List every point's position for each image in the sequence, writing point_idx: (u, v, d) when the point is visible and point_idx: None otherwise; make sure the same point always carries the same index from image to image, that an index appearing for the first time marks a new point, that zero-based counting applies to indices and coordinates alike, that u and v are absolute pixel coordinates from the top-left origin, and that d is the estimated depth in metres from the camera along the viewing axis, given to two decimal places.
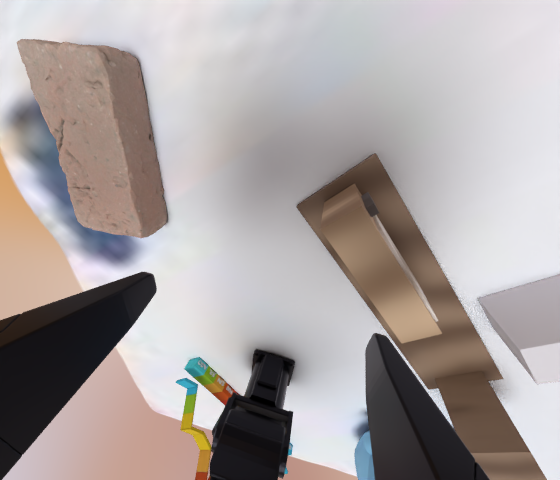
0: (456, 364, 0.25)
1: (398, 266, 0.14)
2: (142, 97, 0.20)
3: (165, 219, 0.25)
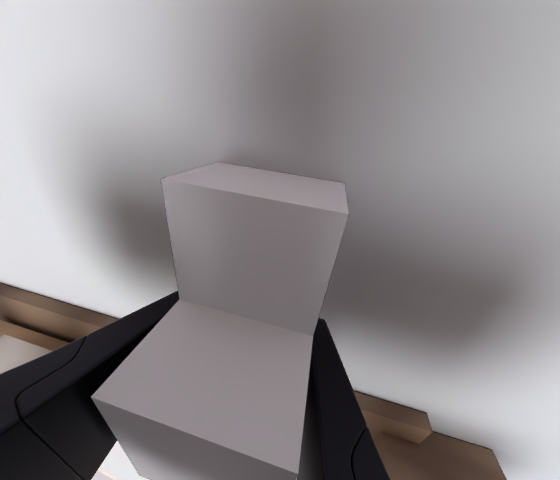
0: None
1: None
2: None
3: None
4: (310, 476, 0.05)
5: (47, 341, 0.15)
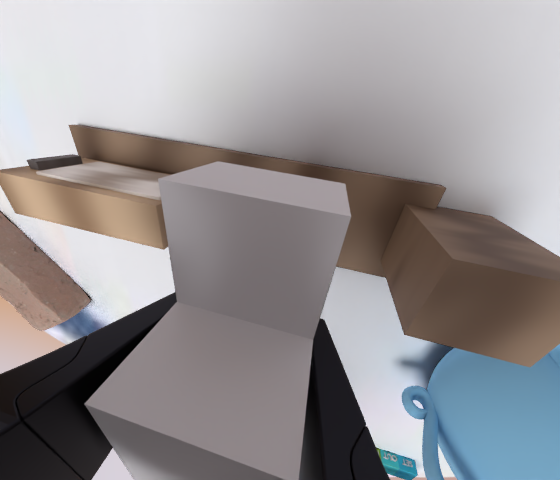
0: (370, 223, 0.16)
1: (57, 185, 0.13)
2: (12, 228, 0.27)
3: (85, 297, 0.31)
4: (309, 475, 0.05)
5: (132, 168, 0.18)
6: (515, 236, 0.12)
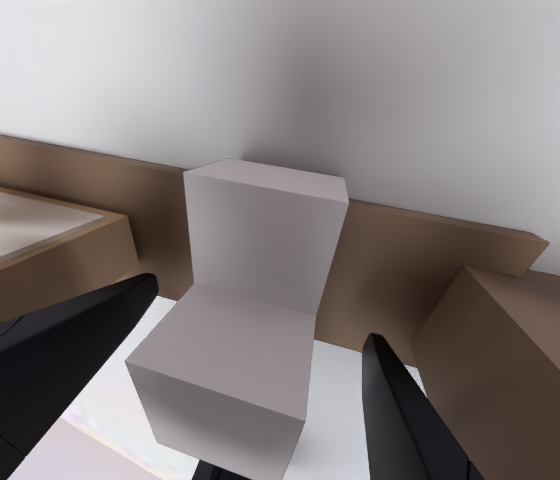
0: (395, 290, 0.10)
1: None
2: None
3: None
4: None
5: (8, 192, 0.11)
6: None
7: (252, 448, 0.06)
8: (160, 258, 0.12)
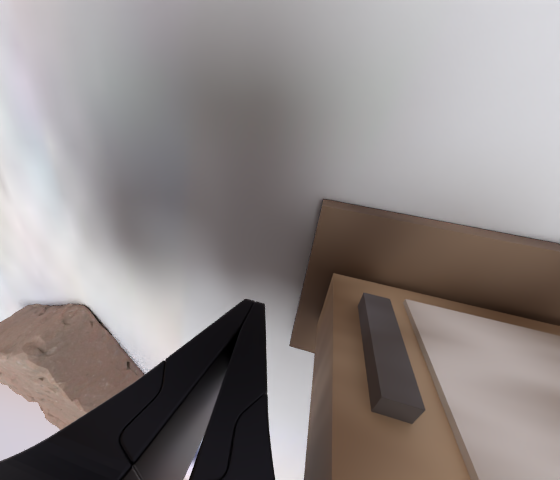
0: None
1: None
2: (104, 339, 0.16)
3: None
4: None
5: (483, 314, 0.07)
6: None
7: None
8: None
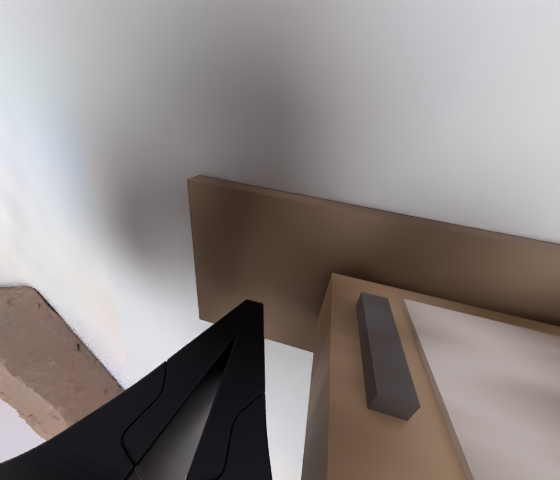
0: None
1: None
2: (52, 320, 0.17)
3: None
4: None
5: (481, 313, 0.07)
6: None
7: None
8: None
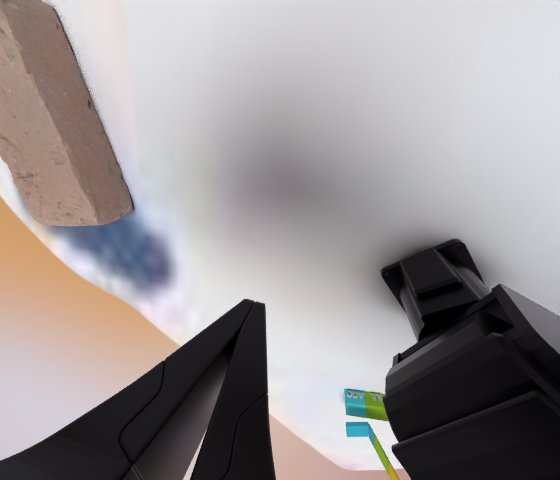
0: None
1: None
2: (67, 53, 0.17)
3: (129, 204, 0.22)
4: None
5: None
6: None
7: None
8: None
